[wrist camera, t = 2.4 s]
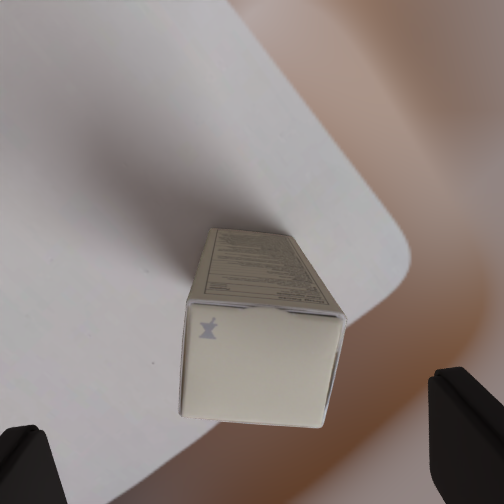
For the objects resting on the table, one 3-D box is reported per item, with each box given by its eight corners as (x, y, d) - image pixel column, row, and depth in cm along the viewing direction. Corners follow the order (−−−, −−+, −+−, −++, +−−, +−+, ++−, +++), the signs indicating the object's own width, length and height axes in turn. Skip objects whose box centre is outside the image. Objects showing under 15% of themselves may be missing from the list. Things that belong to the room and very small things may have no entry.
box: (202, 294, 23) (166, 419, 12) (209, 224, 22) (176, 296, 11) (288, 304, 23) (326, 434, 13) (300, 235, 22) (351, 315, 12)
